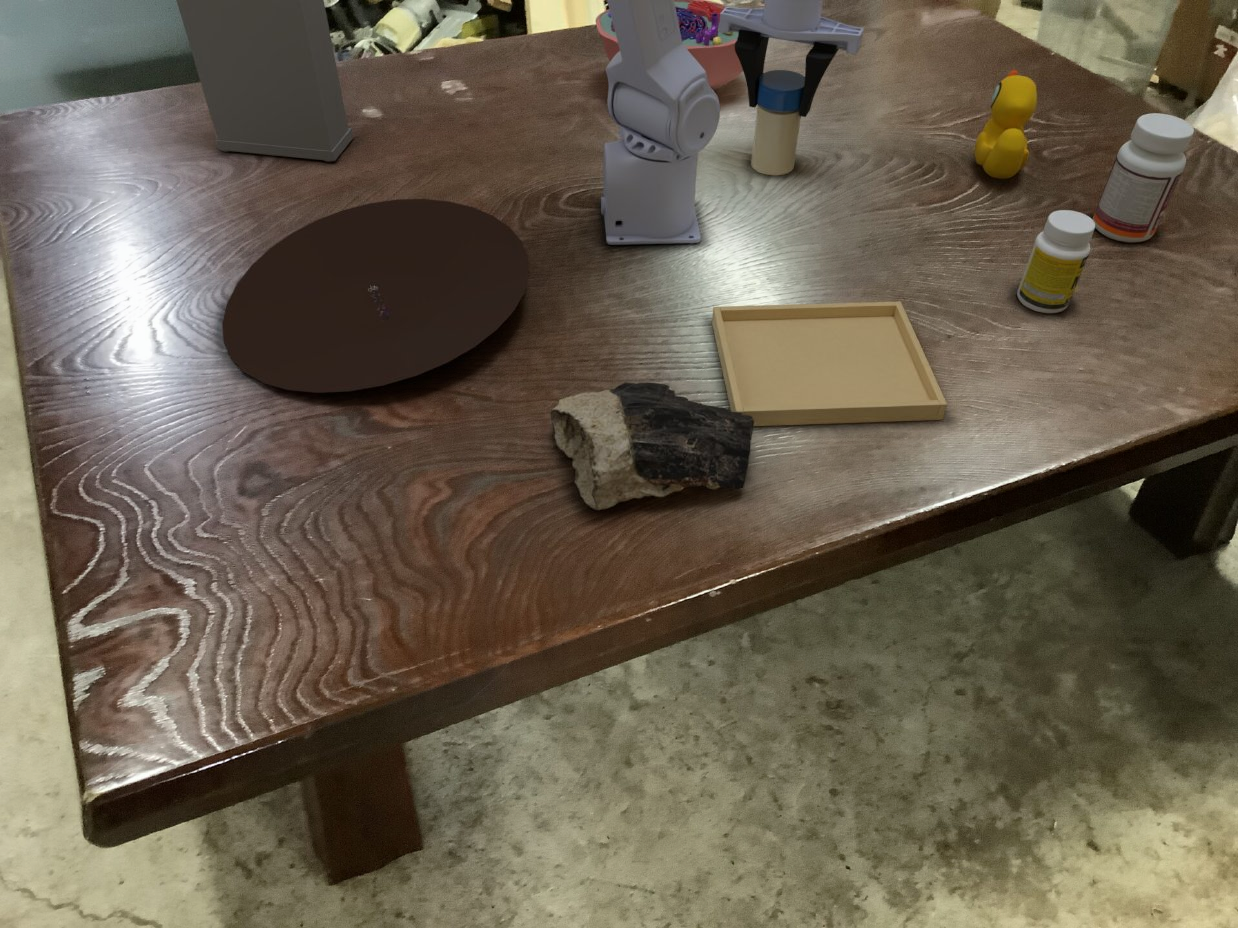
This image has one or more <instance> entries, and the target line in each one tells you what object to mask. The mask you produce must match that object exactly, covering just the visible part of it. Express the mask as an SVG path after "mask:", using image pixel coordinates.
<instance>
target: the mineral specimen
mask: <svg viewBox="0 0 1238 928" xmlns="http://www.w3.org/2000/svg"><path fill="white" fill-rule="evenodd" d="M557 403H558V404H557V405H556V406H555V407H552V409H551V411H550V419H551V425H552V430H553V432H552V433H553V438H554V441H555V445H556V447H557V448H558V449H559V450H560V451H561V452H562V453H564V454H565V457H567V458H570V459H571V467H572V468H573V469H574V470H575V471H574V472H575V473H574V478H573V479H574V480H573V483H574V484H575V485H576V488H577V490H578V492H579V496H580V497H581V499H583V502H584V503H585V505H587V506H588V507H590V508H591V509H592V510H594V511H600V510H607V509H609V508H612V507H615V506H616V505H617V504H618V503H620V502H627V501H630V500H632V499H642V498H644V497H652V496H653V497H656V498H664V497H667V496H669V495H671V494H672V493H674V492H681V491H683V490H684V489H686V488H692V487H693V488H695V487H700V486H703V487H706V489H710V490H717V489H720V488H721V489H727V490H742V489H744V486H745V482H746V477H747V472H748V468H749V458H750V454H751V446H752V444H751V443H752V442H751V441H752V437H753V431H754V427H755V426H754V420H753V417H752V416H749V415H743V414H742V413H740V412H732V411H731V409H730V410H729V409H727V408H726V407H723V406H722V407H720V406H714V405H708V404H703V403H701V402H697V401H691V400H689V398H687V397H686V396H680V395H679V396H678V395H676V391H675V390H672V389H670V385H668V384H665V383H657V382H649V381H648V382H647V381H646V382H638V383H637V382H628V381H627V382H623V383H622V384H621V383H620V384H619V385H617V386H616V387H614V388H612V389H605V390H601V391H599V392H598V391H591V392H590V391H589V392H588V391H587V392H580V393H577V394H575V395H570V396H567V397H563V398H561V399H558V400H557Z"/></svg>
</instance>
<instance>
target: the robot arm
mask: <svg viewBox="0 0 1238 928" xmlns="http://www.w3.org/2000/svg"><path fill="white" fill-rule="evenodd" d="M823 1H824V0H764V6H763V8H743V7H741V8H740V7H732V6H728V7H726V8H725V9H724V10H723V11H722V12H721V13H720V23H719V32H723V33H729V32H730V31H733V32H739V33H738V38H737V41H736V42H735V52H736V54H737V56H738V58H739V61H740V63H741V66H742V69H743V72H742V73H743V74H744V79H745V84H746V88H747V95H748V107H750V108H753V109H755V108H757V105H758V102H757V91H758V82H759V77H760V75H762V74H763V73H764V69H765V63H766V57H767V49H768V46H769V40H770V38H771V39H775V40H782V41H787V42H793V43H799V44H805V45H806V44H807V45H811V46H812V47H811V48H810V50H809V51H808V52H807V54H806V55H805V69H804V71H805V72H804V77H805V82H804V90H803V95H802V100H801V105H800V112H799V116H801V118H802V117H803V118H806V117H808V114H809V113H810V111H811V108H812V104H813V102H814V98H815V95H816V92H817V90H818V87H819V85H820V84H821V81H822V79H823V77H824V75H825V74H826V71H827V69H828V68H829V66H830V64H831V62H832V61H833V59H834V58H835V56H836V55H837V53H838V52H839V50H842V51H845V52H846V53H847V54H850V55H855V56H856V55H857V54H858V53H859V51H860V49H861V48H862V42H863V38H864V31H865V28H863V27H858V26H853V25H849V24H846V23H843V22H840V21H836V20H834V19H830V18H827V17H824V16H821V15H822V9H823ZM606 2H607V5H608V9H609V10H610V14H611V17H612V21H613V25H614V29H615V33H616V37H617V41H618V45H619V49H620V51H619V52H618V53H617V54H616V55H615V56H614V57H613V58H612V60H611V61H609V62H608V64H607V66H606V68H605V74H606V76H607V82H608V90H607V98H606V99H607V102H606V105H607V111H608V115H609V117H610V119H611V120H612V122H613V123H615V124H616V125H618V128H619V131H618V132H619V133H618V134H619V135H618V137H619V138H621V139H617V140H613V141H607V142H604V143H603V149H602V150H603V156H602V157H603V159H602V160H603V162H602V163H603V165H602V166H603V167H602V169H603V170H602V172H603V173H602V174H603V175H602V176H603V180H602V183H603V185H602V187H603V188H602V189H603V191H602V193H603V195H602V196H601V197H600V212H601V216H603V218H604V219H603V220H604V228H605V240H606V241H605V242H606V243H607V244H608V245H610V246H621V245H622V246H623V245H659V244H660V245H661V244H663V245H664V244H665V245H666V244H696V243H700V242H701V241H702V235H701V231H700V227H699V222H698V218H697V213H696V210H695V203H696V189H697V188H696V187H697V174H698V161H699V160H698V159H699V153H700V152H701V151H703V150H705V148H706V146H708V145H709V143H710V142H711V141H712V139H713V138H714V136H715V134H716V131H717V129H718V125H719V122H720V117H721V116H720V115H721V105H720V100H719V97H718V95H717V93H716V92H715V91H714V89H713V90H712V89H711V88H710V86H709V84H708V80H707V75H706V71H705V70H704V69H703V67H702V66H701V65H700V64H699V63H698V61H697V60H696V59H695V58H694V57H693V56H692V55H691V53H690V52H689V51H688V50H687V49H686V48H685V46H684V45H683V43H682V39H681V34H680V29H679V23H678V18H677V13H676V8H675V3H674V0H606Z"/></svg>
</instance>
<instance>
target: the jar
mask: <svg viewBox="0 0 1238 928" xmlns="http://www.w3.org/2000/svg"><path fill="white" fill-rule="evenodd" d="M799 112H800V108H799V109H797V110H794V111H786V112H782V111H773V110H769V109H766V108H764V107H762V106H761V105H759V104H757V106H756V113H755V114H756V115H755V123H754V133H753V134H754V135H753V140H752V141H753V142H752V151H751V160H750V165H751V167H752V169H753V170H755V171H756V172H758V173H760V174H763V175H767V176H783V175H786V174H789V173H791V172H792V171H793V170H794V168H795V161H796V156H797V155H796V154H797V148H798V140H799V133H800V126H801V119H802V116H799Z"/></svg>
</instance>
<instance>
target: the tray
mask: <svg viewBox="0 0 1238 928" xmlns="http://www.w3.org/2000/svg"><path fill="white" fill-rule="evenodd" d="M711 316H712V317H711V324H712V325H711V326H712V329H713V332H714V338H715V343H716V348H717V352H718V357H719V362H720V366H721V372H722V376H723V381H724V385H725V390H726V395H727V400H728V404H729V408H730V411H732V412H740V413H742V414H743V415H749V416H752V417H753V420H754V426H753V427H771V426H796V425H797V426H799V425H801V426H802V425H827V424H828V425H829V424H855V423H856V424H857V423H885V422H886V423H887V422H916V421H942V420H943V419H944V415H945V413H946V410H947V406H948V402H947V401H946V399H945V396H944V394H943V392H942V389H941V388H940V387H941V386H940V385H939V383H938V381H937V378H936V377H935V374H934V372H933V370H932V369H933V368H932V367H931V365H930V363H929V361H928V359H927V355H926V354H925V352H924V350H923V347H922V346H921V342H920V341H919V339H918V337H917V334H916V331H915V330H914V327H913V325H912V323H911V321H910V319H909V317H908V313H907V312H906V310H905V308H904V305H903V303H902V301H867V302H866V301H865V302H834V303H833V302H831V303H801V304H799V303H798V304H795V303H794V304H765V305H761V304H760V305H731V306H729V305H727V306H713V307H712V315H711Z"/></svg>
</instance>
